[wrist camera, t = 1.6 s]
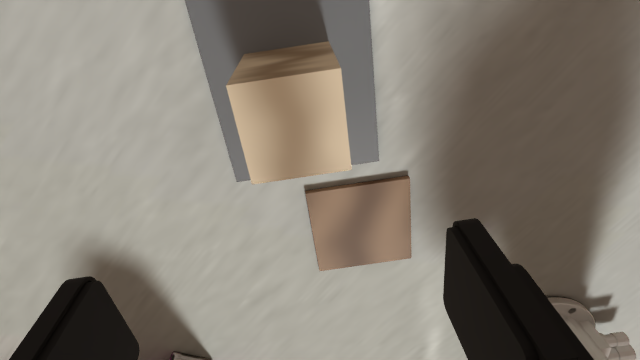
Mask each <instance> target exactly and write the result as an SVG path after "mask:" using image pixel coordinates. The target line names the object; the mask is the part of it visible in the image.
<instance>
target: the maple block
mask: <svg viewBox="0 0 640 360" xmlns="http://www.w3.org/2000/svg"><path fill="white" fill-rule="evenodd" d="M226 88H227V91H228V95H229V99H230V103H231V107H232V110H233V114H234V118H235V122H236V126H237V129H238V133H239V137H240V141H241V145H242V148H243V152H244V156H245V160H246V164H247V167H248V171H249V175H250V179H251V182H252V184H259V183H265V182H272V181H279V180H286V179H293V178H299V177H306V176H313V175H320V174H327V173H333V172H340V171H347V170H352V167H351V158H350V148H349V139H348V129H347V120H346V110H345V101H344V91H343V82H342V73H341V67H340V65H339V63H338V60H337V58H336V56H335V54H334V52H333V49H332V47H331V45H330V43H329V41H327V42H320V43H314V44H307V45H301V46H294V47H287V48H281V49H274V50H268V51H261V52H255V53H248V54H244V55H243V57H242V59H241V60H240V62H239V64H238V66H237V67H236V69H235V71H234V72H233V74H232V76H231V78H230V79H229V81H228V83H227V85H226Z"/></svg>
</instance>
